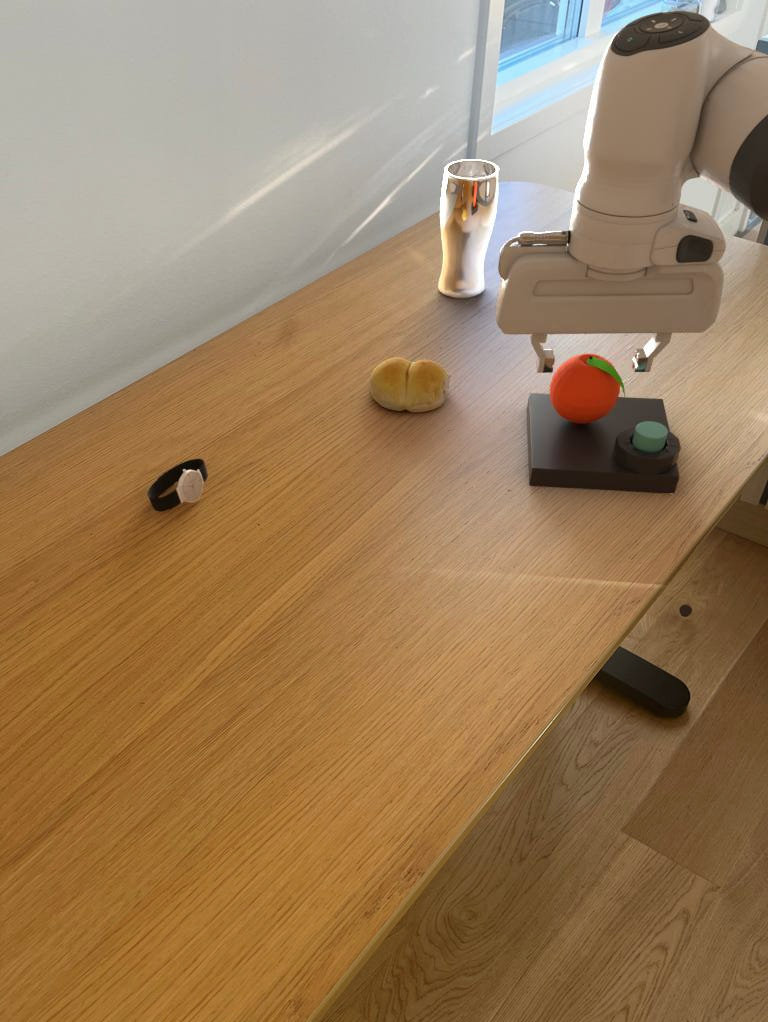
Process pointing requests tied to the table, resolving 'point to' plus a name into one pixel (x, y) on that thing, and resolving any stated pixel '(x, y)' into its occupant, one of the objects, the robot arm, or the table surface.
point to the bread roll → (409, 384)
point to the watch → (179, 485)
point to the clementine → (585, 388)
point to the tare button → (650, 436)
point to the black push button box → (599, 449)
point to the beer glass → (466, 225)
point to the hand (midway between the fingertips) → (591, 369)
